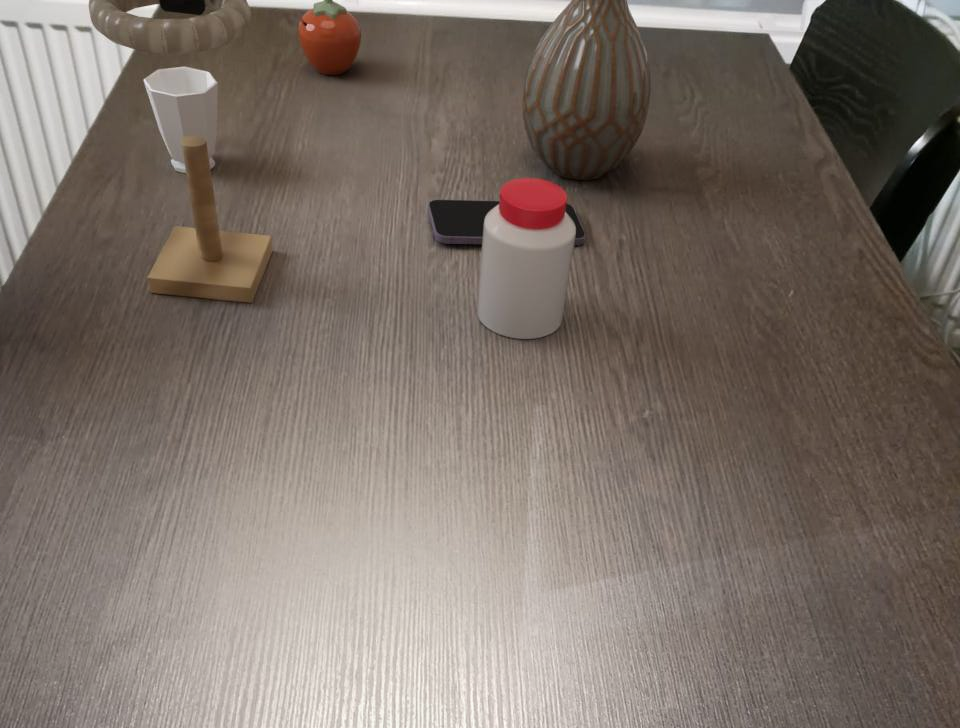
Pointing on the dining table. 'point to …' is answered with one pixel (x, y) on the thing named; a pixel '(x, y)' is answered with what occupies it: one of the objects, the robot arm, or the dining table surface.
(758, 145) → the dining table surface
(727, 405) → the dining table surface
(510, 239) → the pill bottle
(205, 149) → the post
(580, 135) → the vase
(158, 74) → the cup
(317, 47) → the tomato
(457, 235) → the smartphone
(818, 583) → the dining table surface
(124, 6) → the ring
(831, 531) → the dining table surface
